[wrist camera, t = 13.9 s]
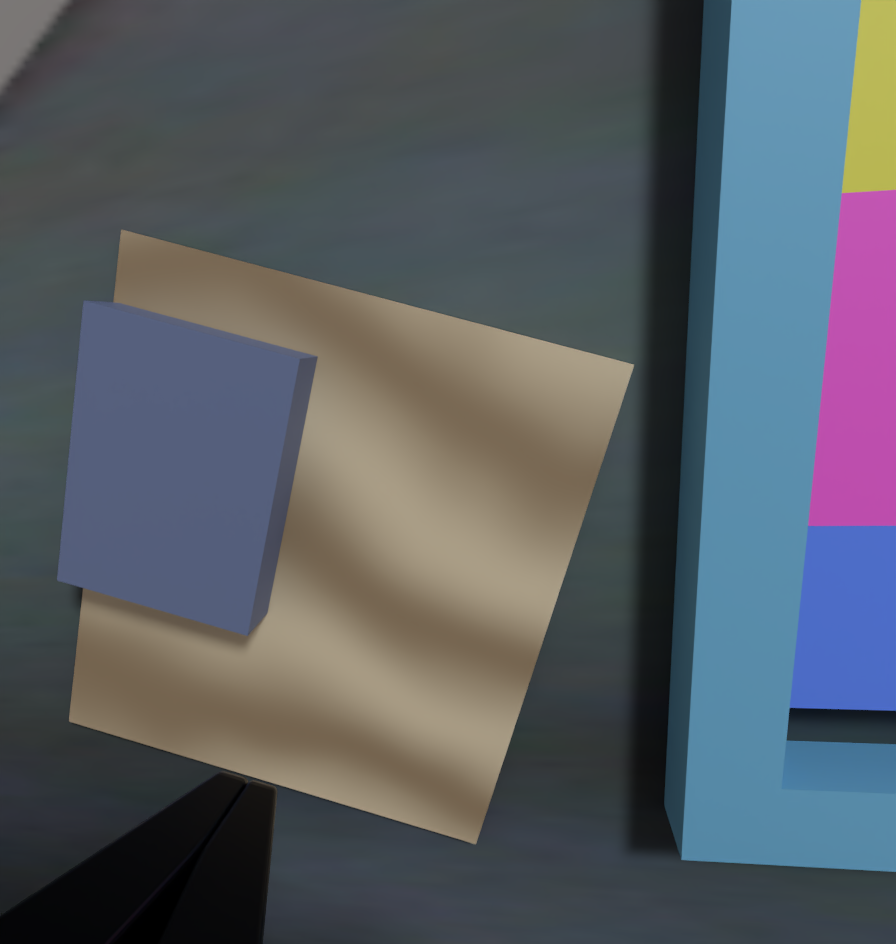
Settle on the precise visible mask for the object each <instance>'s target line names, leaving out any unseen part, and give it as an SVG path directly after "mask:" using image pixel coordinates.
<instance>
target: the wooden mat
mask: <svg viewBox="0 0 896 944" xmlns="http://www.w3.org/2000/svg"><path fill="white" fill-rule="evenodd" d="M114 303H122V304H125V305H129V306H133V307H136V308H140V309H144V310H148V311H151V312H155V313H159V314H162V315H166V316H170V317H173V318H177V319H181V320H185V321H188V322H192V323H196V324H199V325H203V326H207V327H211V328H214V329H218V330H222V331H225V332H229V333H233V334H236V335H240V336H244V337H248V338H251V339H255V340H259V341H262V342H266V343H270V344H274V345H277V346H281V347H285V348H288V349H292V350H296V351H300V352H303V353H307V354H311V355H314V356H318V358H317V363H316V368H315V373H314V378H313V383H312V388H311V393H310V398H309V404H308V409H307V414H306V419H305V424H304V429H303V434H302V439H301V444H300V450H299V455H298V460H297V465H296V470H295V475H294V480H293V485H292V490H291V495H290V501H289V506H288V511H287V516H286V521H285V526H284V531H283V536H282V541H281V547H280V552H279V557H278V562H277V567H276V572H275V577H274V582H273V587H272V592H271V598H270V603H269V608H268V613H267V614H266V615H265V616H264V618H263V619H262V620H261V621H260V622H259V623H258V625H257V626H256V627H255V628H254V629H253V630H252V631H251V633H250V634H249V635H248V636H246V635H242V634H239V633H236V632H232V631H229V630H225V629H222V628H218V627H215V626H212V625H208V624H205V623H201V622H198V621H194V620H191V619H188V618H184V617H181V616H177V615H174V614H171V613H167V612H164V611H160V610H157V609H153V608H150V607H147V606H143V605H140V604H136V603H133V602H129V601H126V600H123V599H119V598H116V597H112V596H109V595H105V594H102V593H99V592H95V591H92V590H88V589H85V588H83V594H82V603H81V613H80V622H79V631H78V641H77V650H76V659H75V669H74V678H73V688H72V697H71V706H70V716H69V722H72V723H75V724H79V725H82V726H85V727H89V728H92V729H95V730H99V731H102V732H105V733H109V734H112V735H115V736H119V737H122V738H125V739H128V740H132V741H135V742H138V743H142V744H145V745H148V746H152V747H155V748H158V749H162V750H165V751H168V752H172V753H175V754H178V755H182V756H185V757H188V758H191V759H195V760H198V761H201V762H205V763H208V764H211V765H215V766H218V767H221V768H225V769H228V770H231V771H235V772H238V773H241V774H244V775H248V776H251V777H254V778H258V779H261V780H264V781H268V782H271V783H274V784H278V785H281V786H284V787H288V788H291V789H294V790H297V791H301V792H304V793H307V794H311V795H314V796H317V797H321V798H324V799H327V800H331V801H334V802H337V803H341V804H344V805H347V806H351V807H354V808H357V809H360V810H364V811H367V812H370V813H374V814H377V815H380V816H384V817H387V818H390V819H394V820H397V821H400V822H404V823H407V824H410V825H413V826H417V827H420V828H423V829H427V830H430V831H433V832H437V833H440V834H443V835H447V836H450V837H453V838H457V839H460V840H463V841H466V842H470V843H473V844H476V842H477V839H478V836H479V833H480V830H481V827H482V824H483V821H484V818H485V815H486V812H487V809H488V806H489V803H490V800H491V797H492V794H493V791H494V788H495V785H496V782H497V779H498V776H499V773H500V770H501V767H502V764H503V760H504V757H505V754H506V751H507V748H508V745H509V742H510V739H511V736H512V733H513V730H514V727H515V724H516V721H517V718H518V715H519V712H520V709H521V706H522V703H523V700H524V697H525V694H526V691H527V688H528V685H529V682H530V679H531V676H532V673H533V670H534V667H535V664H536V661H537V658H538V655H539V652H540V649H541V646H542V643H543V639H544V636H545V633H546V630H547V627H548V624H549V621H550V618H551V615H552V612H553V609H554V606H555V603H556V600H557V597H558V594H559V591H560V588H561V585H562V582H563V579H564V576H565V573H566V570H567V567H568V564H569V561H570V558H571V555H572V552H573V549H574V546H575V543H576V540H577V537H578V534H579V531H580V528H581V525H582V522H583V518H584V515H585V512H586V509H587V506H588V503H589V500H590V497H591V494H592V491H593V488H594V485H595V482H596V479H597V476H598V473H599V470H600V467H601V464H602V461H603V458H604V455H605V452H606V449H607V446H608V443H609V440H610V437H611V434H612V431H613V428H614V425H615V422H616V419H617V416H618V413H619V410H620V407H621V404H622V401H623V397H624V394H625V391H626V388H627V385H628V382H629V379H630V376H631V373H632V370H633V367H634V365H633V364H629V363H626V362H622V361H618V360H614V359H610V358H607V357H603V356H599V355H595V354H592V353H588V352H584V351H580V350H576V349H573V348H569V347H565V346H561V345H557V344H554V343H550V342H546V341H542V340H538V339H535V338H531V337H527V336H523V335H519V334H516V333H512V332H508V331H504V330H501V329H497V328H493V327H489V326H485V325H482V324H478V323H474V322H470V321H466V320H463V319H459V318H455V317H451V316H447V315H444V314H440V313H436V312H432V311H428V310H425V309H421V308H417V307H413V306H409V305H406V304H402V303H398V302H394V301H391V300H387V299H383V298H379V297H375V296H372V295H368V294H364V293H360V292H356V291H353V290H349V289H345V288H341V287H337V286H334V285H330V284H326V283H322V282H318V281H315V280H311V279H307V278H303V277H300V276H296V275H292V274H288V273H284V272H281V271H277V270H273V269H269V268H265V267H262V266H258V265H254V264H250V263H246V262H243V261H239V260H235V259H231V258H227V257H224V256H220V255H216V254H212V253H208V252H205V251H201V250H197V249H193V248H190V247H186V246H182V245H178V244H174V243H171V242H167V241H163V240H159V239H155V238H152V237H148V236H144V235H140V234H136V233H133V232H129V231H125V230H121V237H120V246H119V255H118V265H117V274H116V284H115V293H114Z"/></svg>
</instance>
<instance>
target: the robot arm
mask: <svg viewBox="0 0 896 944" xmlns="http://www.w3.org/2000/svg"><path fill="white" fill-rule="evenodd" d="M276 800H277V789H276V787H274V786H272V785H268V784H265V783H262V782H258V781H255V780H252V781H250V782H248V780H247V779H246V778H245V777H242V776H239V775H235V774H232V773H229V772H225V771H222V772H218V773H216V774H215V775H213V776H212V777H210V778H209V779H207V780H206V781H204V782H203V783H201V784H200V785H198V786H197V787H195V788H194V789H192V790H191V791H189V792H187V793H186V794H184V795H183V796H181V797H180V798H178V799H177V800H175V801H174V802H172V803H171V804H169V805H168V806H166V807H165V808H163V809H162V810H160V811H159V812H157V813H156V814H154V815H153V816H151V817H150V818H148V819H146V820H145V821H143V822H142V823H140V824H139V825H137V826H136V827H134V828H133V829H131V830H130V831H128V832H127V833H125V834H124V835H122V836H121V837H119V838H118V839H116V840H115V841H113V842H112V843H110V844H109V845H107V846H106V847H104V848H102V849H101V850H99V851H98V852H96V853H95V854H93V855H92V856H90V857H89V858H87V859H86V860H84V861H83V862H81V863H80V864H78V865H77V866H75V867H74V868H72V869H71V870H69V871H68V872H66V873H65V874H63V875H61V876H60V877H58V878H57V879H55V880H54V881H52V882H51V883H49V884H48V885H46V886H45V887H43V888H42V889H40V890H39V891H37V892H36V893H34V894H33V895H31V896H30V897H28V898H27V899H25V900H24V901H22V902H20V903H19V904H17V905H16V906H14V907H13V908H11V909H10V910H8V911H7V912H5V913H4V914H2V915H1V916H0V944H263V935H264V924H265V914H266V904H267V893H268V883H269V873H270V862H271V852H272V842H273V831H274V821H275V811H276Z"/></svg>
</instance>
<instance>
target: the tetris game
mask: <svg viewBox="0 0 896 944" xmlns="http://www.w3.org/2000/svg"><path fill="white" fill-rule="evenodd" d="M790 708H816V709H852V710H889V711H896V0H704V9H703V29H702V50H701V70H700V90H699V110H698V130H697V151H696V171H695V191H694V211H693V231H692V252H691V272H690V292H689V312H688V332H687V353H686V373H685V393H684V413H683V433H682V454H681V474H680V494H679V514H678V535H677V555H676V575H675V595H674V615H673V636H672V656H671V676H670V696H669V716H668V737H667V757H666V777H665V797H664V807H665V810H666V813H667V816H668V819H669V822H670V825H671V829H672V832H673V835H674V838H675V841H676V844H677V848H678V851H679V854H680V857H681V860H692V861H710V862H728V863H746V864H764V865H782V866H800V867H819V868H837V869H855V870H873V871H891V872H896V744H867V743H838V742H808V741H786V738H787V728H788V719H789V709H790Z"/></svg>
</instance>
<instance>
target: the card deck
mask: <svg viewBox="0 0 896 944" xmlns="http://www.w3.org/2000/svg"><path fill="white" fill-rule="evenodd" d="M317 358H318V356H314V355H311V354H307V353H303V352H300V351H296V350H292V349H288V348H285V347H281V346H277V345H274V344H270V343H266V342H262V341H259V340H255V339H251V338H248V337H244V336H240V335H236V334H233V333H229V332H225V331H222V330H218V329H214V328H211V327H207V326H203V325H199V324H196V323H192V322H188V321H185V320H181V319H177V318H173V317H170V316H166V315H162V314H159V313H155V312H151V311H148V310H144V309H140V308H136V307H133V306H129V305H125V304H122V303H114V302H99V301H84V302H83V312H82V323H81V333H80V344H79V354H78V365H77V376H76V386H75V397H74V407H73V418H72V429H71V439H70V450H69V460H68V471H67V482H66V492H65V503H64V513H63V524H62V534H61V545H60V556H59V566H58V577H57V581H61V582H64V583H68V584H71V585H75V586H78V587H81V588H85V589H88V590H92V591H95V592H99V593H102V594H105V595H109V596H112V597H116V598H119V599H123V600H126V601H129V602H133V603H136V604H140V605H143V606H147V607H150V608H153V609H157V610H160V611H164V612H167V613H171V614H174V615H177V616H181V617H184V618H188V619H191V620H194V621H198V622H201V623H205V624H208V625H212V626H215V627H218V628H222V629H225V630H229V631H232V632H236V633H239V634H242V635H246V636H248V635H249V634H250V633H251V631H252V630H253V629H254V628H255V627H256V626H257V625H258V623H259V622H260V621H261V620H262V619H263V618H264V616H265V615H266V614H267V613H268V608H269V603H270V598H271V592H272V587H273V582H274V577H275V572H276V567H277V562H278V557H279V552H280V547H281V541H282V536H283V531H284V526H285V521H286V516H287V511H288V506H289V501H290V495H291V490H292V485H293V480H294V475H295V470H296V465H297V460H298V455H299V450H300V444H301V439H302V434H303V429H304V424H305V419H306V414H307V409H308V404H309V398H310V393H311V388H312V383H313V378H314V373H315V368H316V363H317Z"/></svg>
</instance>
